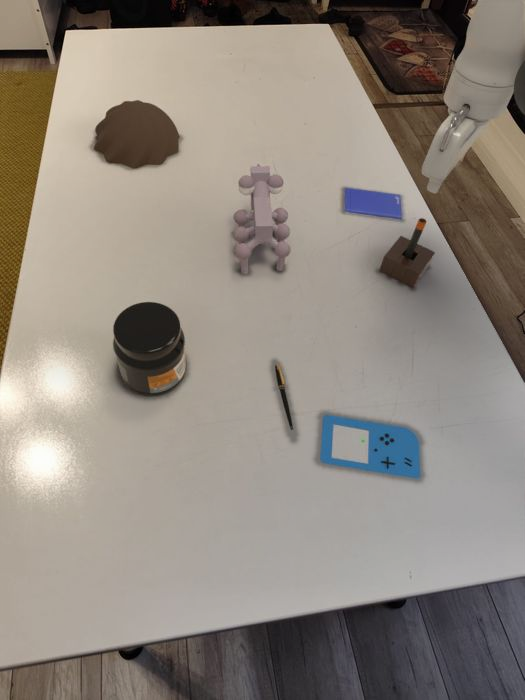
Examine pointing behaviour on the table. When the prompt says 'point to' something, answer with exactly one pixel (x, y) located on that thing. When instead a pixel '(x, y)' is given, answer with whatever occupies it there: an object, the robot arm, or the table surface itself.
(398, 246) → the holder
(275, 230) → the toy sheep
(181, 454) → the table surface
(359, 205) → the hard drive
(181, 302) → the table surface
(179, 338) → the supplement container
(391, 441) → the handheld gaming device
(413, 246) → the stylus
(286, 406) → the fountain pen
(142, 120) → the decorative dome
